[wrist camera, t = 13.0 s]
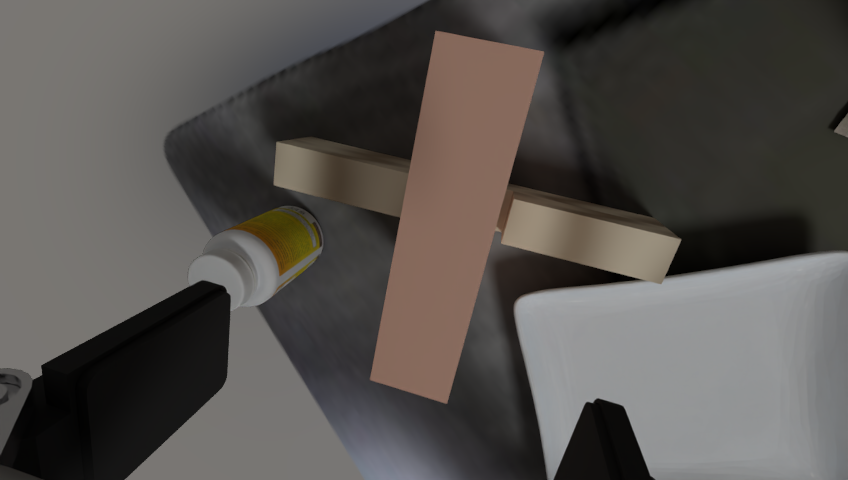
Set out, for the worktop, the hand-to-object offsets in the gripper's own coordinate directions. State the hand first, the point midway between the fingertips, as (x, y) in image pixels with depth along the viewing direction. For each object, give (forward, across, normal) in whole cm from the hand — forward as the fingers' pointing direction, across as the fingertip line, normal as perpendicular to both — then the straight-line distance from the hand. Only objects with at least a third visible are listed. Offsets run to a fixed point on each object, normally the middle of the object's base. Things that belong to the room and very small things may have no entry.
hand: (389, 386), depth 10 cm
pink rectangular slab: (+22, 0, -1) cm, 22 cm away
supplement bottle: (+22, +14, +6) cm, 27 cm away
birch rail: (+22, 0, -1) cm, 22 cm away
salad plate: (+23, -18, +10) cm, 31 cm away
